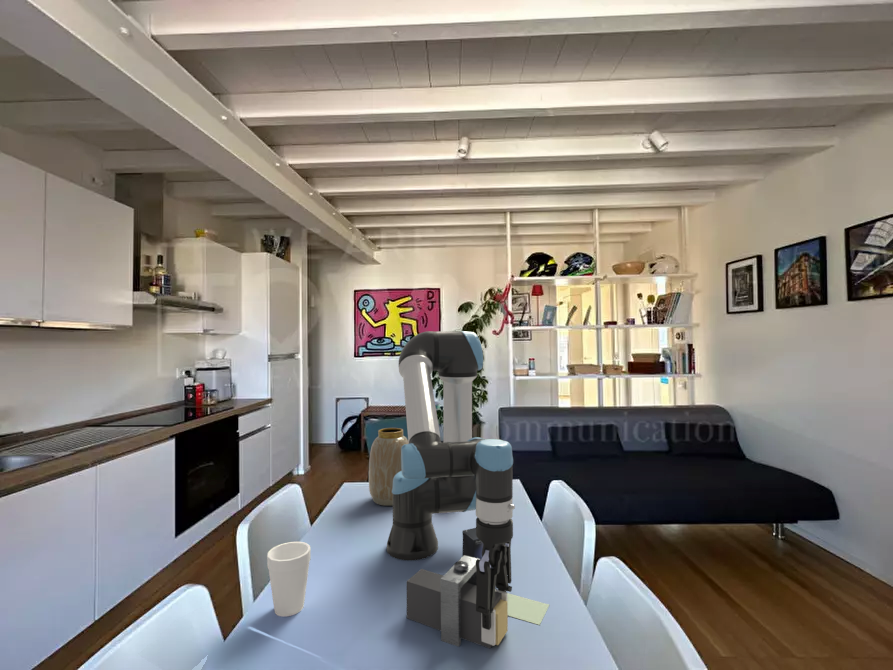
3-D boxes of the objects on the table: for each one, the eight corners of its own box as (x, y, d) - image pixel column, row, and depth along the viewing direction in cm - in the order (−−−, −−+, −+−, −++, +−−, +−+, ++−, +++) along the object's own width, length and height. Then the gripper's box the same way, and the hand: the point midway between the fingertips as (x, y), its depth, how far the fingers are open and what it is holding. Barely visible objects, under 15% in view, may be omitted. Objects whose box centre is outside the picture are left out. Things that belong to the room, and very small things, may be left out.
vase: (411, 508, 160) (410, 434, 160) (364, 508, 160) (364, 434, 161) (415, 492, 177) (414, 425, 178) (373, 492, 177) (372, 426, 178)
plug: (406, 617, 95) (406, 581, 95) (421, 603, 101) (421, 568, 101) (497, 652, 85) (496, 610, 85) (508, 634, 90) (508, 595, 90)
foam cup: (284, 626, 93) (284, 565, 93) (258, 612, 98) (258, 554, 98) (319, 603, 101) (319, 547, 101) (293, 591, 106) (293, 538, 106)
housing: (441, 640, 88) (440, 574, 88) (464, 611, 98) (464, 551, 98) (458, 647, 86) (458, 579, 86) (480, 616, 96) (480, 555, 96)
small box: (473, 581, 110) (473, 539, 110) (461, 569, 116) (460, 530, 116) (508, 571, 115) (507, 531, 115) (494, 560, 121) (493, 522, 121)
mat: (463, 603, 101) (463, 601, 101) (477, 586, 108) (477, 584, 108) (539, 626, 92) (539, 624, 92) (549, 606, 99) (549, 604, 99)
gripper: (493, 540, 79) (494, 669, 78) (526, 505, 95) (527, 612, 95) (456, 531, 82) (457, 655, 82) (494, 499, 99) (495, 602, 98)
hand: (494, 632), depth 88 cm, fingers closed on plug, 6 cm apart
